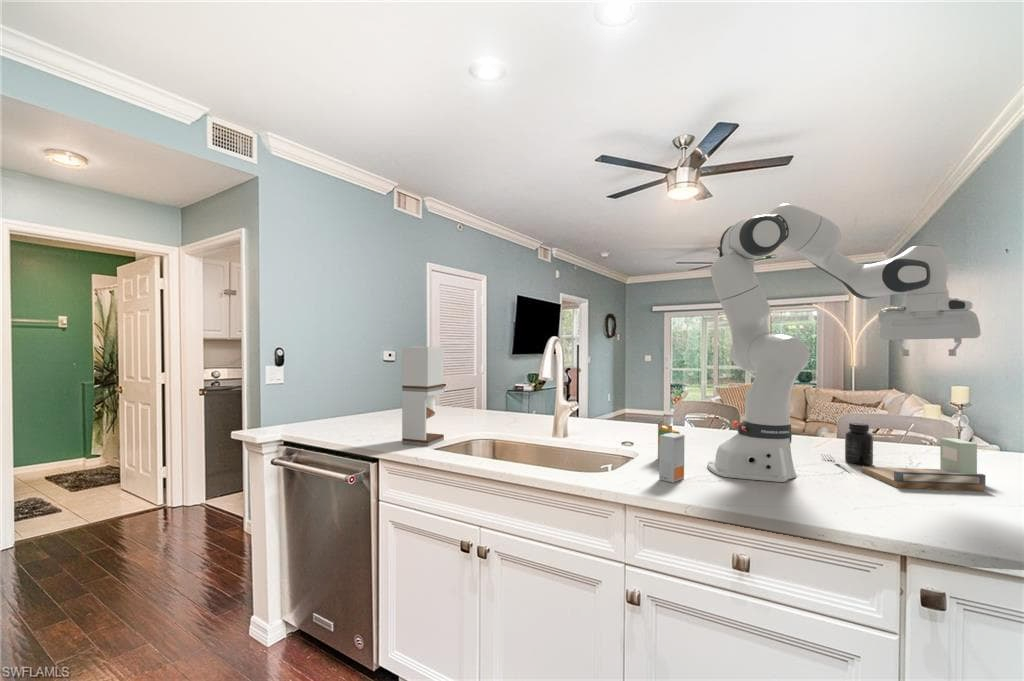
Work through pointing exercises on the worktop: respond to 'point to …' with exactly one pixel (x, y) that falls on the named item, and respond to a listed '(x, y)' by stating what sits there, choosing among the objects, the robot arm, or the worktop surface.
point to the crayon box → (664, 432)
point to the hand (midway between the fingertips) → (928, 356)
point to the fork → (838, 464)
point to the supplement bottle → (859, 445)
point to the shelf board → (927, 478)
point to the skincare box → (671, 457)
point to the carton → (958, 456)
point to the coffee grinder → (420, 392)
